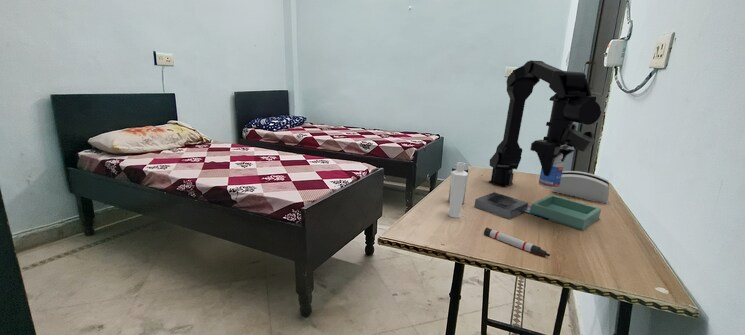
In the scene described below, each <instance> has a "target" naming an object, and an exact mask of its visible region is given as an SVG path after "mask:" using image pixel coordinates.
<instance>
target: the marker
mask: <svg viewBox="0 0 745 335" xmlns="http://www.w3.org/2000/svg"><path fill="white" fill-rule="evenodd" d="M483 236H487V237H489V238H492V239H494V240H497V241H498V242H502V243H505V244H506V245H507V244H508V245H510V246H513V247H515V248H517V249H520V250H522V251H525V252H527V253H531V254H533V255H536V256H542V257H550V256H551V254H550V253H547V251H546V250H544V249H543V248H541V246H538V245H535V244H532V243H531V242H528V241H525V240H521V239H519V238H516V237H514V236H512V235H508V234H506V233H503V232H500V231H497V230H495V229H492V228H489V227H486V228H485V229H484V231H483Z"/></svg>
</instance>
